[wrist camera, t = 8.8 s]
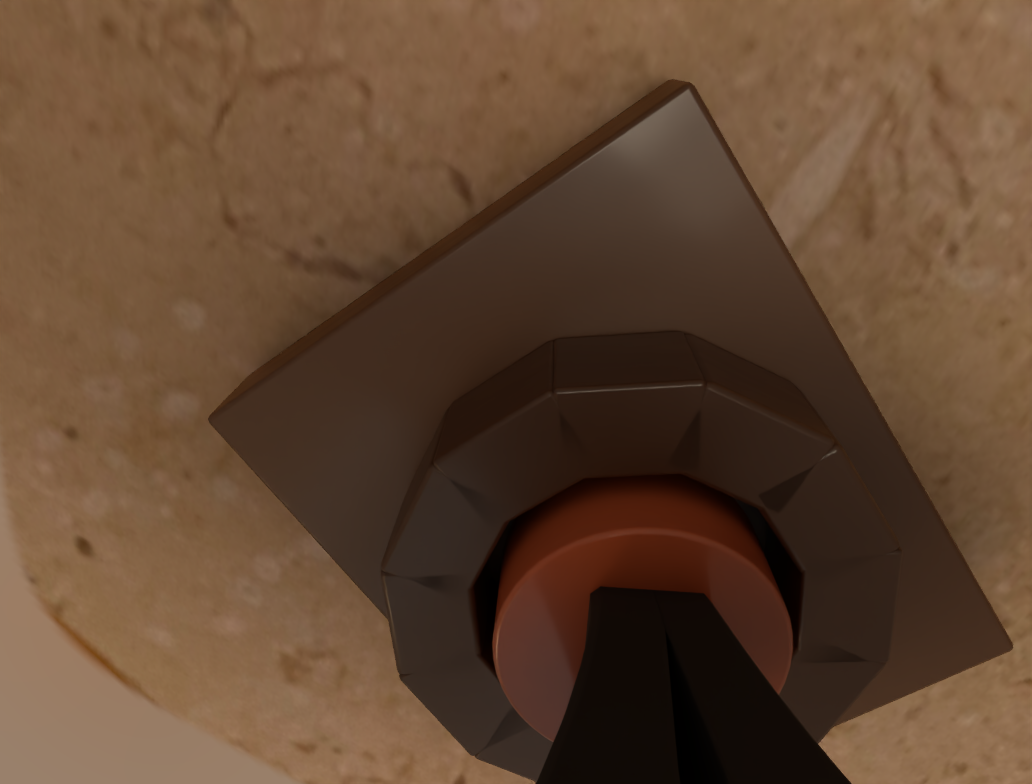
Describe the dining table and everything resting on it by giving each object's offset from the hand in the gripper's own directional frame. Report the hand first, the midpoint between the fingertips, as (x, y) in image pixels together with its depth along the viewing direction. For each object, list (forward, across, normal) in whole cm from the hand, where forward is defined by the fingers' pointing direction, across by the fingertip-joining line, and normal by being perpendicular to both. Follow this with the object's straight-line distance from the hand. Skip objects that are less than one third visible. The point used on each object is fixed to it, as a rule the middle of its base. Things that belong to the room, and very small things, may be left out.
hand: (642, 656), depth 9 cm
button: (+2, 0, 0) cm, 2 cm away
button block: (+4, 0, 0) cm, 4 cm away
